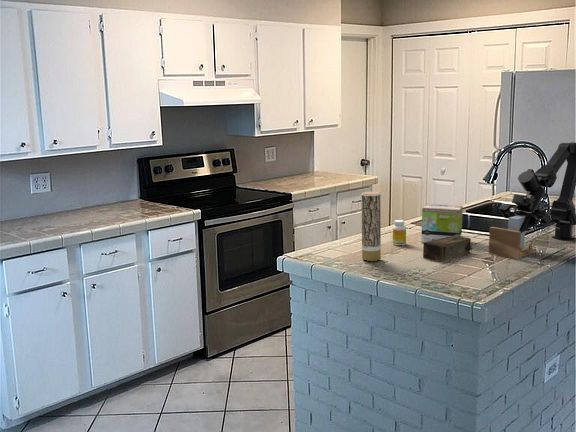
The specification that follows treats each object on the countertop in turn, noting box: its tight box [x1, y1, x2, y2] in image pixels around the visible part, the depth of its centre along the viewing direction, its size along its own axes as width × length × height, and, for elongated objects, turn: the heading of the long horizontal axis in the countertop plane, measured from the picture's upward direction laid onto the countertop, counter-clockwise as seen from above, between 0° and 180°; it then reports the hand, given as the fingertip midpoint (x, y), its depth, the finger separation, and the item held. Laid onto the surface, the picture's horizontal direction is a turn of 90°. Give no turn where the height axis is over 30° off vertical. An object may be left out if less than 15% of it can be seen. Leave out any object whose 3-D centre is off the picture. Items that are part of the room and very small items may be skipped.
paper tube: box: [361, 191, 382, 262], centre depth 224 cm, size 7×7×25 cm
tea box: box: [421, 203, 464, 243], centre depth 249 cm, size 15×10×15 cm
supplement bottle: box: [392, 219, 407, 246], centre depth 247 cm, size 5×5×10 cm
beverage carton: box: [422, 235, 472, 263], centre depth 228 cm, size 8×19×7 cm, turn 128°
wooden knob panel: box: [488, 226, 537, 260], centre depth 228 cm, size 13×12×10 cm
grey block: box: [507, 216, 526, 250], centre depth 228 cm, size 5×4×12 cm
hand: (514, 232), depth 227 cm, fingers closed on grey block, 4 cm apart
